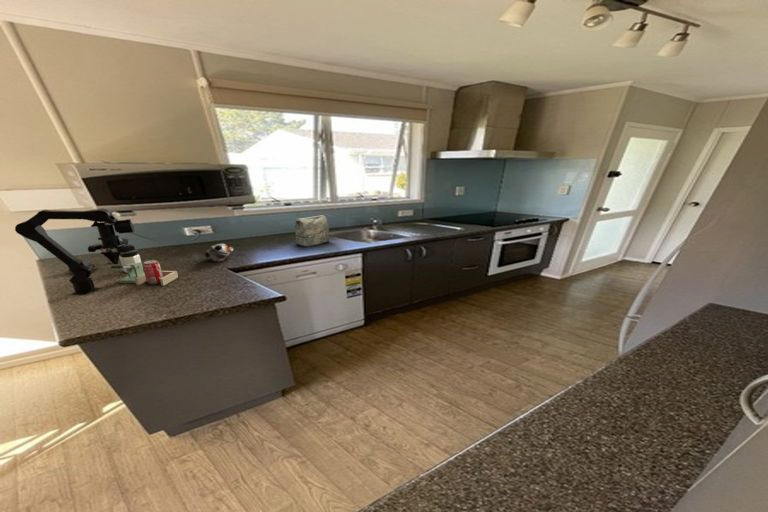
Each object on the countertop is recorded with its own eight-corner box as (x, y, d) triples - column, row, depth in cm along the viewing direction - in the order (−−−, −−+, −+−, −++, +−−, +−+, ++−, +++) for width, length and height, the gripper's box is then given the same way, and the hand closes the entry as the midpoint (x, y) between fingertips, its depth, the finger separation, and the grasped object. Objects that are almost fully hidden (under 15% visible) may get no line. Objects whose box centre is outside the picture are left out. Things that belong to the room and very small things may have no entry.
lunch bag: (321, 238, 248) (320, 213, 241) (332, 242, 236) (331, 216, 229) (293, 243, 231) (290, 216, 225) (304, 248, 219) (301, 220, 212)
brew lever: (120, 269, 146) (120, 264, 146) (110, 269, 146) (111, 264, 146) (140, 269, 158) (140, 264, 158) (131, 268, 158) (131, 264, 158)
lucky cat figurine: (227, 254, 200) (232, 238, 195) (230, 265, 193) (236, 249, 188) (202, 252, 190) (207, 236, 184) (205, 264, 183) (211, 247, 177)
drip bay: (163, 285, 150) (162, 278, 149) (136, 285, 150) (134, 278, 149) (178, 277, 161) (176, 271, 160) (152, 277, 161) (150, 270, 160)
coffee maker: (137, 283, 153) (133, 267, 150) (118, 282, 153) (114, 267, 150) (154, 274, 165) (150, 260, 162) (137, 274, 164) (133, 260, 162)
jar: (122, 274, 164) (116, 254, 161) (124, 269, 171) (119, 250, 167) (142, 271, 169) (137, 251, 165) (143, 267, 176) (139, 248, 172)
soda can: (161, 278, 159) (156, 258, 155) (165, 282, 155) (160, 261, 151) (145, 282, 154) (140, 261, 150) (149, 286, 149) (143, 264, 146)
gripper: (139, 231, 149) (146, 259, 154) (103, 230, 149) (112, 258, 154) (121, 236, 138) (129, 266, 143) (82, 235, 138) (92, 265, 143)
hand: (116, 264), depth 146 cm, fingers closed
